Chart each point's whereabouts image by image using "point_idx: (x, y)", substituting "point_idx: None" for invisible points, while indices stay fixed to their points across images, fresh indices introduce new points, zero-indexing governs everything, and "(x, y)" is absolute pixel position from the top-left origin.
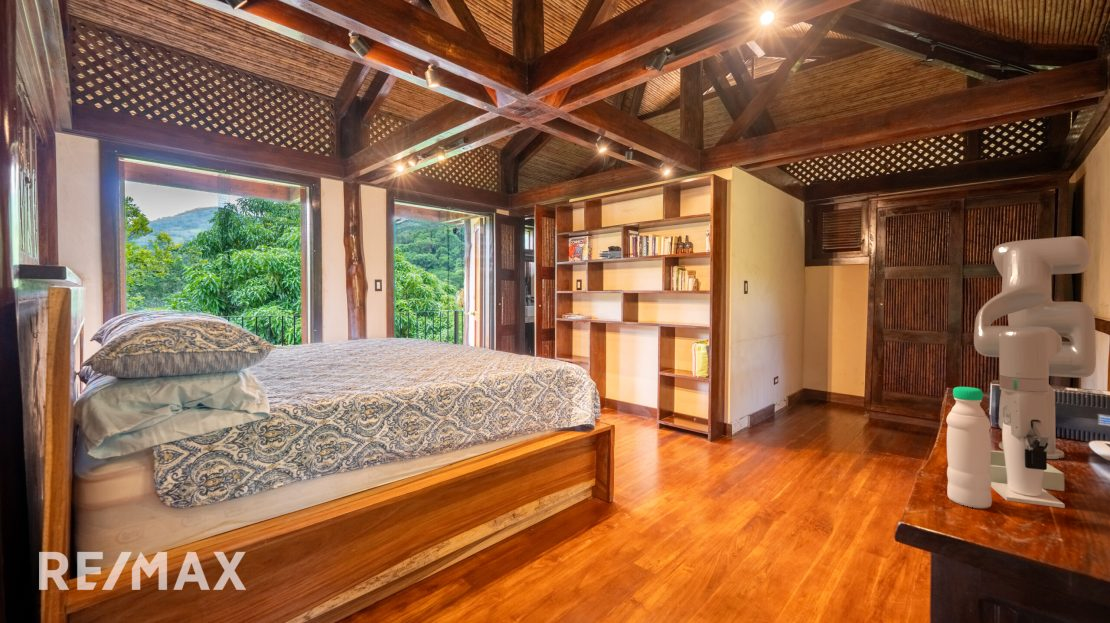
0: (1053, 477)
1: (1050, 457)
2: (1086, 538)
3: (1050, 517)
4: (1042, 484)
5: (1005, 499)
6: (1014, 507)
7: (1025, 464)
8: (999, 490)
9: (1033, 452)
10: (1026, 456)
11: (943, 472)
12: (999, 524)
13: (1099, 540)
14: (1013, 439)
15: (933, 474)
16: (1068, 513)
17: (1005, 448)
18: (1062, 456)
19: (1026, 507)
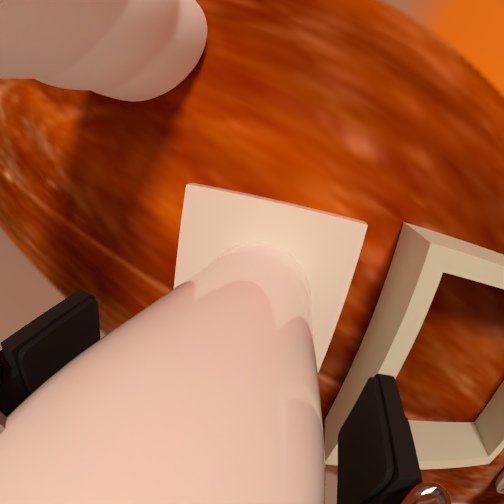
0: (334, 434)
1: (501, 475)
2: (22, 233)
3: (94, 235)
4: (344, 393)
5: (203, 185)
6: (137, 173)
7: (78, 298)
8: (258, 199)
9: (3, 354)
10: (36, 322)
11: (486, 128)
12: (38, 81)
13: (23, 252)
14: (31, 394)
15: (453, 68)
16: (138, 308)
17: (181, 327)
18: (496, 488)
19: (147, 214)
